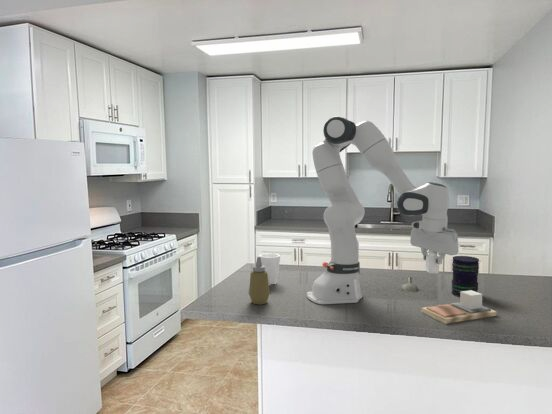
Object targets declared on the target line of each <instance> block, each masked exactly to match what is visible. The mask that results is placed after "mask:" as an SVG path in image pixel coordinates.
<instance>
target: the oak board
mask: <svg viewBox="0 0 552 414" xmlns="http://www.w3.org/2000/svg"><path fill="white" fill-rule="evenodd" d="M420 309H421V310H420V311H421V313H422V314H425V315H426V316H429V317H430V318H433V319H435V320H437V321H438V322H440V323H443V324H446V325H447V324H453V323H459V322H465V321H472V320H477V319H485V318H490V317H496V316H497V310H494V309H492V308H490V307H486V306H484V305H482V308H478V309H468V308H466V307H463V306H461V305H460V301H459V302H454V303H453V302H452V303H447V304H440V305H433V306H424V307H421V308H420Z"/></svg>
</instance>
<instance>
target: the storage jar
mask: <svg viewBox="0 0 552 414" xmlns="http://www.w3.org/2000/svg"><path fill="white" fill-rule="evenodd" d="M479 261H480V259H479V258H477V257H475V256H468V255H453V256H452V264H451V266H452V268H451V271H452V279H451V294H452V295H453V296H456V297H459V298H460V292H461V291H469V290H472V291H475V292H478V291H479V282H478V278H479V277H478V276H479V275H478V274H479V271H480V270H479V269H480V266H479V265H480V263H479ZM478 293H479V292H478Z"/></svg>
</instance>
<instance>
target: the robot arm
mask: <svg viewBox="0 0 552 414" xmlns="http://www.w3.org/2000/svg"><path fill="white" fill-rule="evenodd" d="M322 132H323V137H324V140H323V141H322V142H320V143H318V144H316V145H315V146H314V147H313V149H312V160H313V166H314V169H315V173H316V176H317V179H318V182H319V184H320V187H321V190H322V192H323V194H324V195H325V196H326V197H327V198H328V200H329V202H330V203H331V204H330V205H328V206H327V207H326V208H325V210H324V212H323V221H324V223H325V225H326V226H327V229H328V230H327V231H328V234H329V238H330V239H329V240H330V261H329V262H327V261H323V262H322V264H321V265H322V267H324V268H325V269H326V271H324V272H323V273H322V274H321V275H319V276H318V277H317V278H316V279H315V280H314V281H313V284H312V288H311V291H308V292H306V297H307V299H308V300H310V301H312V302H313V303H315V304H318V305H333V304H336V305H337V304H353V303H355V304H357V303H358V302H359V301H360V299H362V298H363V293H362V289H361V284H360V270H361V269H360V268H361V267H360V266H361V263H360V262H361V261H359V260H360V259H359V255H360V254H359V250H360V247H359V246H360V243H359V241H358V239H357V236H356V235H357V233H356V230H355V226H356V225H358V224H359V223H361V221H362V220H363V219H364V217H365V212H366V209H365V208H364V205H363V204H362V203H361V202H360V200H359V198H358V196H357V195H356V193H355V191H354V189H353V187H352V186H351V183H350V181H349V179H348V176H347V172H346V169H345V167H344V165H343V162H342V158H341V154H340V153H341V152H343V150H345V149H346V148H348V147H349V146H350V145H354V146H355V147H356V149H357V150H358V151H359V153H360V154H361V156H362V157H363V159H364V160H365V161H366V162H367V163H368V165H369V166H370V167H371V168H372V169H373V170H376V171H377V172H379V173H381V174H383V175H384V176H385V177H386V178H387V179H388V180H389V181H390V183H391V184H392V186H393V187H394V189H395V190H396V192H397V193H398V194H399V196H398V198H397V202H396V207H397V209H398V211H399V212H400V213H401V214H402V215H404V216H407V217H413V216H420V215H421V216H422V217H421V218H422V220H417V221H414V222H412V223H411V228H412V229H411V230H410V231H411V232H410V237H409V238H410V245H411V246H413V247H416V248H420V250H421V255H422V259H423V261H426V256H427V255H429V253H428V252H429V250H432V251H435V252H438V253H437V256H438V257H439V258H438V259H436V264H439V265H442V264H443V259H444V258H445V257H446V255H448V256H457V254H458V253H459V249H460V248H459V235H458V234H459V233H457V231H456V230H455V229H454V228H453V229H452V228H448V219H449V218H448V209H449V206H450V205H449V202H450V201H449V200H450V197H449V195H450V194H449V188H448V187H447V186H446V185H444V184H442V183H438V182H437V183H436V182H431V181H430V182H426V183H425V184H423V185H421V186H419V187H415V186H414V185H413V183H412V182H411V181H410V179H409V178H408V177H407V175H406V174H405V172H404V171H403V170H402V168H401V166H400V164H399V162H398V159H397V157H396V154H395V152H394V150H393V147H392V146H391V144H390V142H389V141H388V139H387V138H386V136H385V135H384V134H383V133H382V132H381V130H380V129H379V127H377V125H375V123H374V122H372V121H370V120H364V121H361V122H359V123H357V124H355V122H353V121H352V120H349V119H347V118H345V117H342V116H339V115H338V116H337V115H336V116H333V117H330V118H329V119H327V121H326V122H325V123H324V126H323V130H322Z"/></svg>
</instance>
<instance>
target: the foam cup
mask: <svg viewBox="0 0 552 414" xmlns="http://www.w3.org/2000/svg"><path fill="white" fill-rule="evenodd" d="M258 257H260V258H261V262H262V265H263V266H265V271H266V272H267V274H268V283H269V284H275V285H277V284H278V276H279V269H280V261H281V255H280V254H279V253H275V252H272V253H271V252H270V253H269V252H268V253H267V252H266V253H260V254H259V256H258ZM276 283H277V284H276Z"/></svg>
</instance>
